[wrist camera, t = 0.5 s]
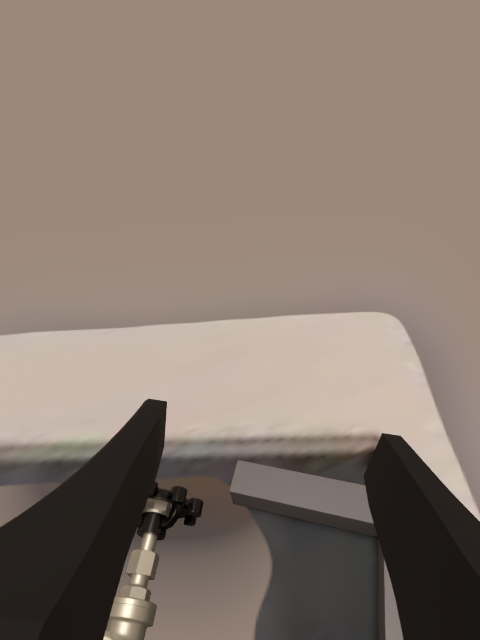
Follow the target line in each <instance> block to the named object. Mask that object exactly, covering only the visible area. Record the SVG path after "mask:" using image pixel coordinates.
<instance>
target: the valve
mask: <svg viewBox="0 0 480 640" xmlns="http://www.w3.org/2000/svg"><path fill="white" fill-rule="evenodd" d="M186 496H187V489H186V488H183V487H180V486H174V487H172V489H171V490H166V489H161V488H159V487H158V483H157V482H156V481H154V484H153V486H152V489H151V492H150V495H149V497H148V500H147V503H146V505H145V508H144V510H143V513H142V516H141V518H140V521H139V524H138V526H137V527H138V530H137V534H138V535H139V536H141V537H143V538H142V542H141V546H140V549H137V550H134V551H132V553H131V557H130V560H129V564H128V567H127V571H126V574H128V575H129V576H130V577H131V578H130V582H129V584H128V585H126V586H123V587H122V589H121V592H120V596H115V599H114V602H113V606H112V609H111V613H110V617H109V620H108V625H107V629H106V631H105V635H104V639H103V640H144V636H145V632H146V628H147V627H151V626H152V625H153V622H154V617H155V612H156V608H157V606H156V604H154V603H152V602H149V599H150V595H151V592H150V591H149V590H148V589H147V583H148V580H154V578H155V574H156V569H157V565H158V561H159V556H158V554H157V553H155V552H154V550H155V546H156V541H157V540H163V539H164V538H165V534H166V530H167V529H168V528H170V527H172V526H173V525H174V524H175V522H176V521H177V519H178V518H182V517H184V518H185V520H184V525H189V526H193V525H195V523H196V518H197V517H200V516H201V513H202V507H203V501H202V500H200V499H198V498H191V499H186ZM170 503H171V504H172V507H171V504H170ZM170 507H171V508H170Z"/></svg>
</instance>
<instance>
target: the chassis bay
mask: <svg viewBox="0 0 480 640" xmlns="http://www.w3.org/2000/svg"><path fill="white" fill-rule="evenodd" d="M230 494H231V497H232V501H233V504H236V505H240V506H245V507H249V508H253V509H258V510H262V511H266V512H271V513H275V514H279V515H284V516H288V517H292V518H297V519H301V520H305V521H309V522H314V523H318V524H322V525H327V526H331V527H335V528H340V529H344V530H348V531H353V532H357V533H361V534H365V535H370V536H374V537H378V536H377V533H376V530H375V526H374V523H373V519H372V516H371V512H370V509H369V504H368V499H367V493H366V486H365V485H360V484H355V483H350V482H345V481H340V480H335V479H330V478H325V477H320V476H315V475H310V474H305V473H300V472H295V471H290V470H285V469H280V468H275V467H270V466H265V465H260V464H255V463H250V462H245V461H240V460H238V461H237V465H236V469H235V473H234V476H233V480H232V484H231V488H230ZM378 602H379V640H403V634H402V629H401V625H400V620H399V615H398V610H397V605H396V600H395V595H394V592H393V588H392V584H391V580H390V577H389V573H388V570H387V567H386V563H385V560H384V557H383V553H382V550H381V546H380V543H379V540H378Z"/></svg>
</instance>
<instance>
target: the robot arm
mask: <svg viewBox="0 0 480 640" xmlns="http://www.w3.org/2000/svg"><path fill="white" fill-rule="evenodd" d="M166 408H167V402H166V401H160V400H153V399H148V400H146V401H145V402H144V403H143V404H142V406H141V407H140V408H139V409H138V411H137V412H136V413H135V414H134V415H133V416H132V418H131V419H130V420H129V421H128V422H127V423H126V424H125V425H124V426H123V428H122V429H121V430H120V431H119V432H118V433H117V434H116V435H115V436H114V437H113V438H112V439H111V440H110V441H109V442H108V443H107V444H106V445H105V446H104V447H103V448H102V449H101V450H100V451H99V452H98V453H97V454H96V455H95V456H93V457H92V458H91V459H90V460H89V461H88V462H87V463H86V464H85V465H84V466H83V467H81V468H80V469H79V470H78V471H77V472H76V473H74V474H73V475H72V476H71V477H70V478H68V479H67V480H66V481H65V482H63V483H62V484H61V485H60V486H59V487H57V488H56V489H55V490H53V491H52V492H51V493H49V494H48V495H47V496H45V497H44V498H43V499H42V500H40V501H39V502H37V503H36V504H34V505H33V506H32V507H30V508H29V509H28V510H26V511H25V512H23V513H22V514H20V515H19V516H17V517H16V518H14V519H12V520H11V521H9V522H8V523H6V524H5V525H3V526H2V527H0V640H103V639H104V635H105V631H106V628H107V624H108V620H109V617H110V613H111V609H112V606H113V602H114V599H115V595H116V591H117V588H118V584H119V581H120V577H121V574H122V570H123V566H124V563H125V560H126V557H127V553H128V551H129V548H130V545H131V542H132V539H133V537H134V534H135V532H136V529H137V526H138V524H139V521H140V518H141V516H142V513H143V510H144V508H145V505H146V502H147V500H148V497H149V495H150V492H151V489H152V486H153V484H154V481H155V478H156V475H157V472H158V468H159V464H160V460H161V456H162V452H163V449H164V439H165V423H166ZM364 480H365V486H366V493H367V499H368V504H369V509H370V512H371V516H372V519H373V523H374V526H375V530H376V533H377V536H378V540H379V543H380V546H381V550H382V553H383V557H384V560H385V563H386V567H387V570H388V573H389V577H390V580H391V584H392V588H393V592H394V595H395V600H396V605H397V610H398V615H399V620H400V625H401V629H402V634H403V640H480V522H479V521H478V519H477V518H476V517H475V516H474V515H473V514H472V513H471V512H470V511H469V510H468V509H467V508H466V507H465V506H464V505H463V504H462V503H461V502H460V501H459V500H458V499H457V498H456V497H455V496H454V495H453V494H452V493H451V492H450V491H449V489H448V488H447V487H446V486H445V485H444V484H443V483H442V482H441V481H440V480H439V478H438V477H437V476H436V475H435V474H434V473H433V472H432V471H431V469H430V468H429V467H428V466H427V465H426V464H425V463H424V462H423V460H422V459H421V458H420V457H419V456H418V455H417V454H416V452H415V451H414V450H413V449H412V448H411V447H410V446H409V445H408V444H407V442H406V441H405V440H404V439H403V438H402V437H401V436H397V435H391V434H384V433H382V435H381V437H380V440H379V442H378V444H377V447H376V449H375V451H374V453H373V456H372V458H371V460H370V463H369V465H368V467H367V469H366V472H365V474H364Z"/></svg>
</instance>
